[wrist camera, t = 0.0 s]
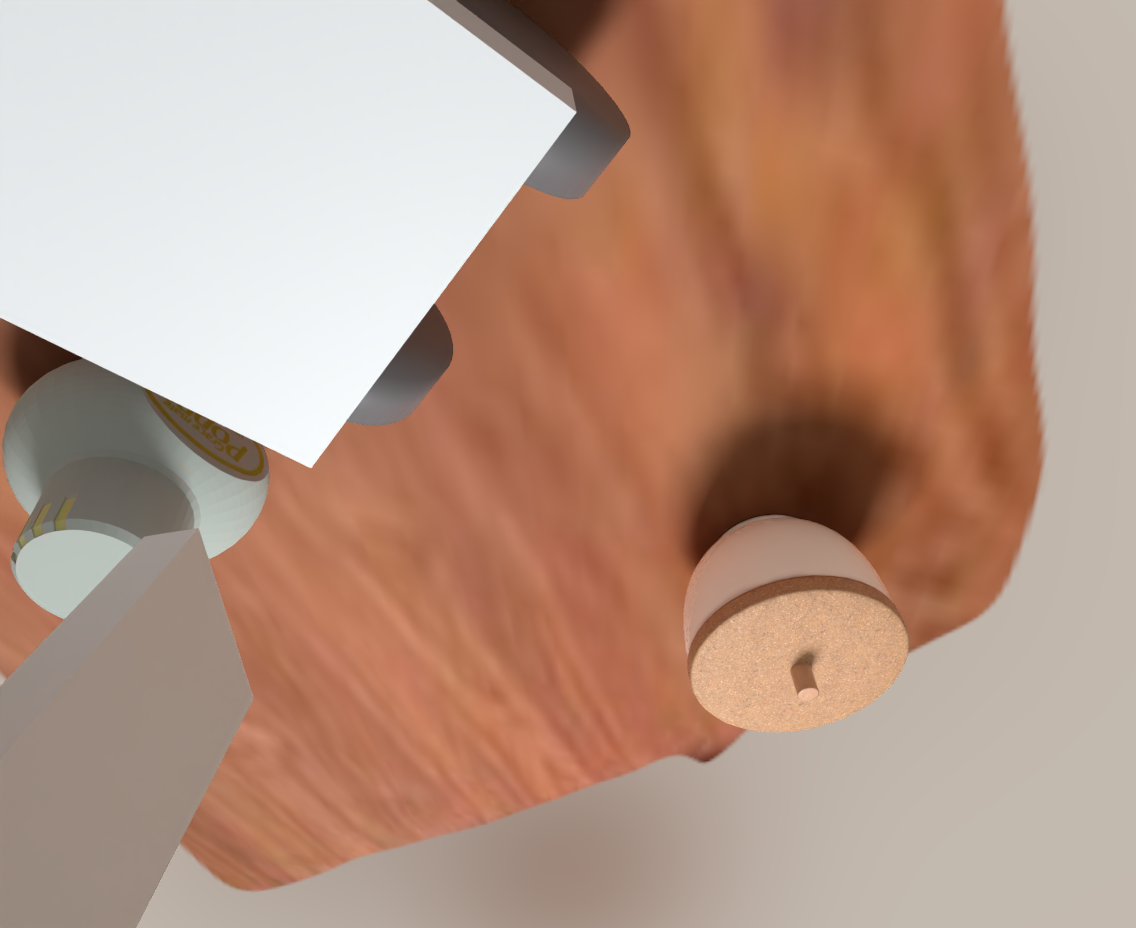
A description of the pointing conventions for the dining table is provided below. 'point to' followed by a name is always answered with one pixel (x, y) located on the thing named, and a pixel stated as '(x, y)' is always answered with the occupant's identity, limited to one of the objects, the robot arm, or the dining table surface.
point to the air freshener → (118, 479)
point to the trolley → (274, 190)
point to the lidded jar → (789, 627)
